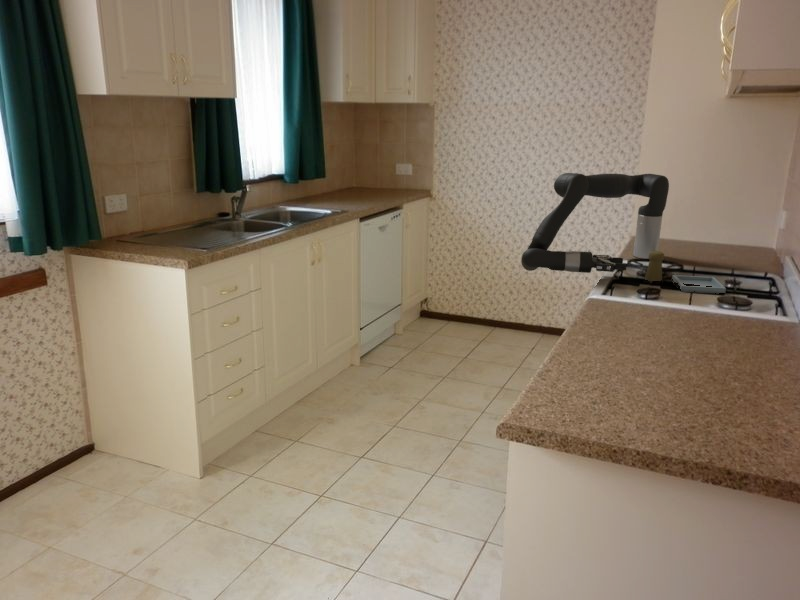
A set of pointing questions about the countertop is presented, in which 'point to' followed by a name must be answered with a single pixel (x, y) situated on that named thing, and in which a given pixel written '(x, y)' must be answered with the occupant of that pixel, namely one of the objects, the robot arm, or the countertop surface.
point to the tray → (701, 281)
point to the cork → (655, 266)
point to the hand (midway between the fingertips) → (624, 263)
